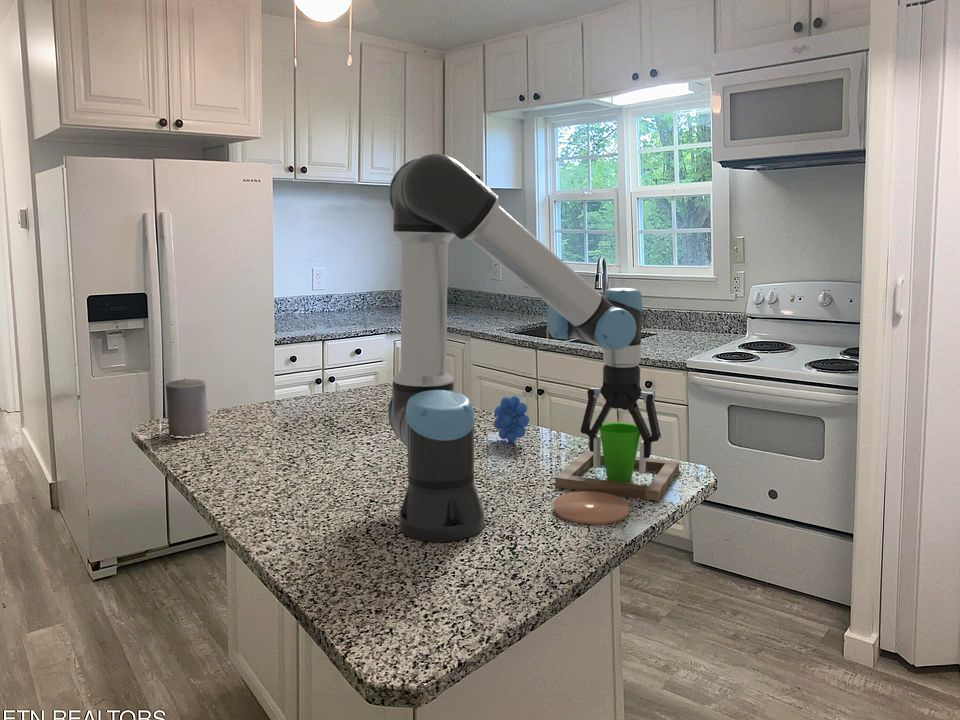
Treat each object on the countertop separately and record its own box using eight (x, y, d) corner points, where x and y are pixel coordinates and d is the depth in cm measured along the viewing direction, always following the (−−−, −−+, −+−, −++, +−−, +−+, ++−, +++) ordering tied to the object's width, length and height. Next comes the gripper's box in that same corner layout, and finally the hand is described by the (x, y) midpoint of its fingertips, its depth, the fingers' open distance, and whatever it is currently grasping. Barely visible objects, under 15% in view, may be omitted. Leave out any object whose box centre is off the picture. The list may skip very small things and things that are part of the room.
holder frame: (658, 501, 147) (658, 491, 147) (555, 486, 156) (555, 477, 155) (679, 470, 166) (679, 461, 165) (585, 458, 175) (586, 450, 174)
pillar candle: (162, 435, 198) (157, 378, 195) (197, 427, 205) (193, 372, 202) (181, 442, 192) (176, 383, 189) (216, 433, 199) (212, 377, 196)
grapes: (540, 443, 187) (540, 396, 185) (521, 449, 182) (521, 400, 180) (507, 434, 195) (507, 388, 193) (488, 439, 191) (487, 392, 189)
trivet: (617, 529, 134) (618, 522, 134) (542, 517, 140) (542, 510, 139) (637, 503, 146) (637, 497, 146) (567, 493, 152) (567, 487, 152)
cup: (641, 486, 156) (642, 434, 154) (596, 484, 157) (597, 432, 155) (640, 473, 164) (642, 423, 162) (598, 470, 166) (599, 421, 164)
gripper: (679, 364, 155) (675, 470, 159) (576, 357, 165) (575, 458, 168) (671, 370, 149) (667, 481, 153) (565, 363, 158) (564, 468, 162)
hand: (619, 469), depth 160 cm, fingers closed on cup, 9 cm apart
